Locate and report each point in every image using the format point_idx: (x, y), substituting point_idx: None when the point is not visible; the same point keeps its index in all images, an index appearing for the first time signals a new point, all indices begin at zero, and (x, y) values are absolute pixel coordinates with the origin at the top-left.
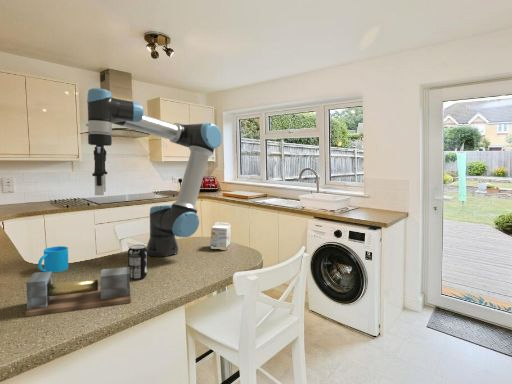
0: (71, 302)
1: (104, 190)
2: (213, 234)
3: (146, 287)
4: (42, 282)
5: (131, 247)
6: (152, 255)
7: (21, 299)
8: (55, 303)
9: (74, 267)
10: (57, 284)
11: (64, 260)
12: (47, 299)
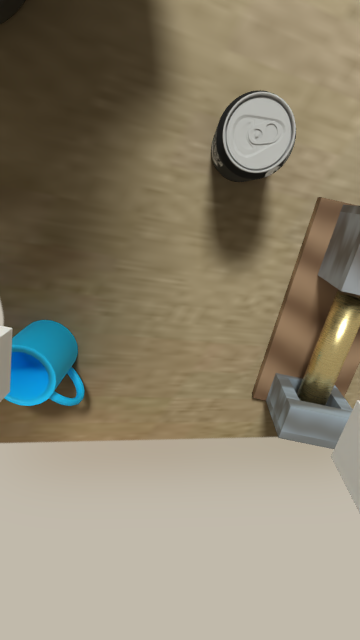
0: None
1: (4, 342)
2: None
3: (342, 148)
4: None
5: (250, 162)
6: (14, 9)
7: (236, 415)
8: None
9: (52, 305)
10: (329, 385)
11: (58, 342)
12: None
